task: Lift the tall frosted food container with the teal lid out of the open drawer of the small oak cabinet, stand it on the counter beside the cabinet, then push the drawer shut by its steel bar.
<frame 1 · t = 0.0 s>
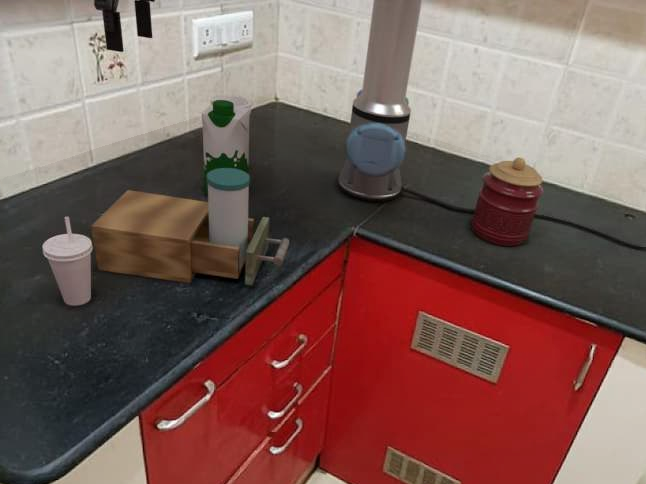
hand: (130, 43, 106), 28 cm above the worktop, tool pointing down, fingers open, 13 cm apart
foam cup: (231, 153, 141), on the worktop
milk carton: (227, 191, 122), on the worktop
smoothie: (77, 299, 85), on the worktop
drawer: (233, 246, 96), point 4 cm above the worktop, slide at 9.0 cm, touching container
kitchen canister: (498, 233, 125), on the worktop
container: (228, 255, 97), point 2 cm above the worktop, touching drawer
cabinet: (159, 255, 98), on the worktop
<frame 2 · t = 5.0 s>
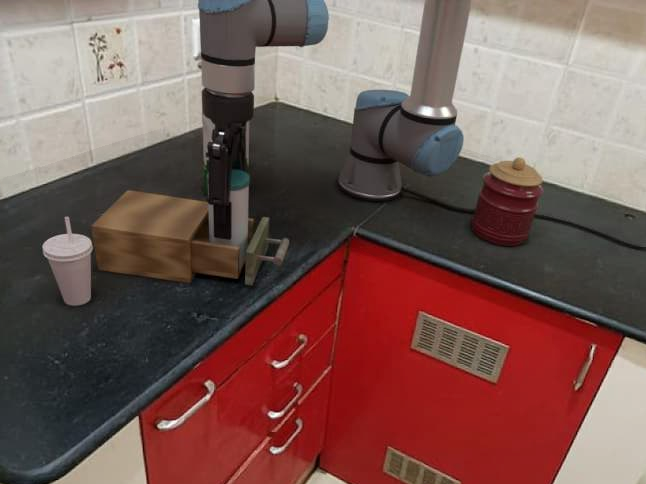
hand: (228, 227, 94), 8 cm above the worktop, tool pointing down, fingers closed on container, 6 cm apart
container: (228, 255, 97), point 2 cm above the worktop, touching drawer, gripper
everything else where it was.
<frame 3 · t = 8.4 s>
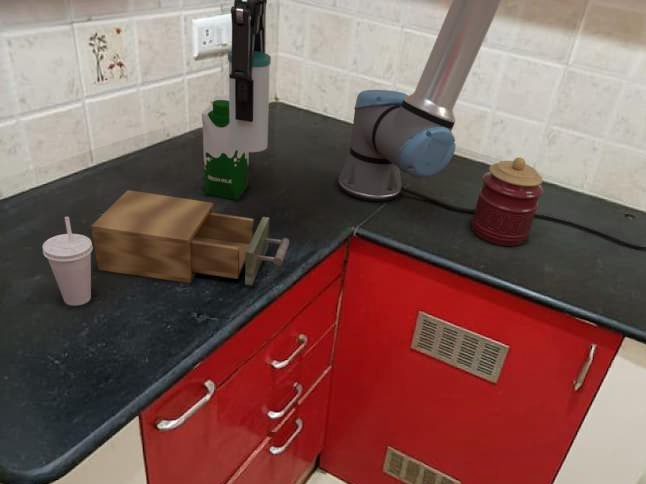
hand: (249, 113, 93), 24 cm above the worktop, tool pointing down, fingers closed on container, 6 cm apart
drawer: (233, 246, 96), point 4 cm above the worktop, slide at 9.0 cm
container: (248, 145, 96), point 19 cm above the worktop, touching gripper
everything else where it was.
when the fingers open (6 cm above the worktop, at t = 11.9 s): container stays where it is, on the worktop.
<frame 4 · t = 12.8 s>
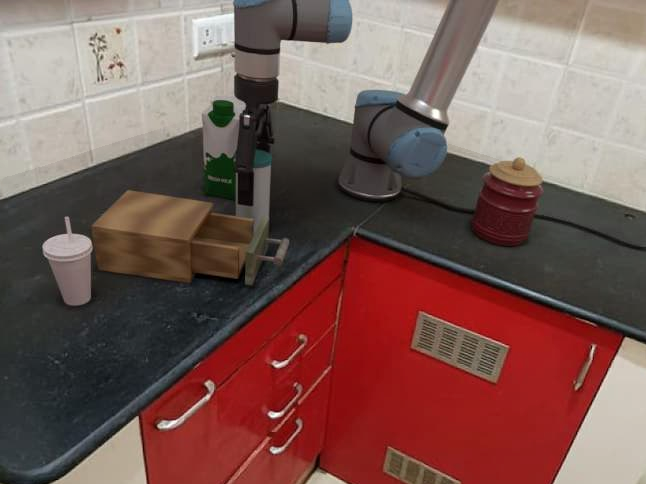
hand: (254, 189, 107), 8 cm above the worktop, tool pointing down, fingers open, 13 cm apart
container: (252, 226, 111), on the worktop
everything else where it was.
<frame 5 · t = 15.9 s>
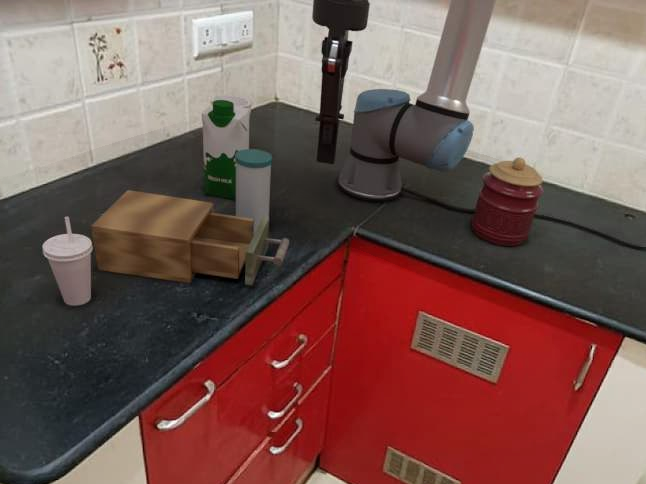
hand: (325, 161, 87), 22 cm above the worktop, tool pointing down, fingers closed
nothing on the worktop moved.
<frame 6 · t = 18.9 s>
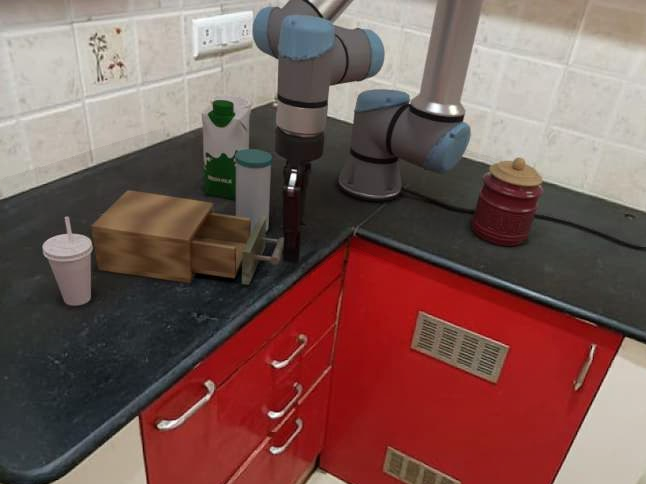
hand: (290, 260, 97), 3 cm above the worktop, tool pointing down, fingers closed
drawer: (229, 245, 96), point 4 cm above the worktop, slide at 8.4 cm
everything else where it was.
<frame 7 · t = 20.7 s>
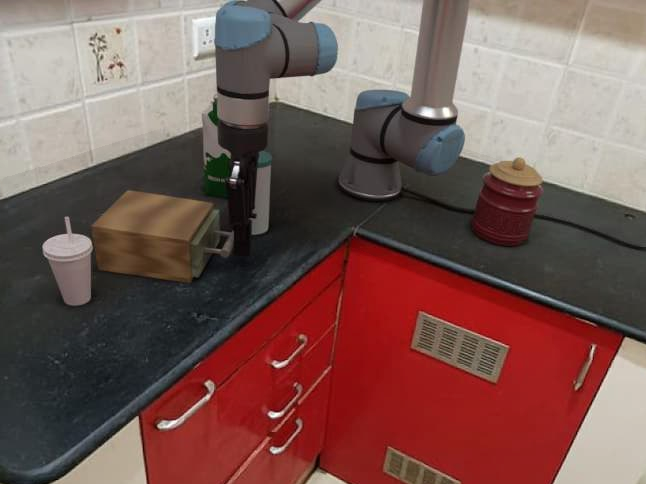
hand: (242, 253, 97), 3 cm above the worktop, tool pointing down, fingers closed
drawer: (181, 238, 96), point 4 cm above the worktop, slide at 0.0 cm, touching cabinet, gripper
everything else where it was.
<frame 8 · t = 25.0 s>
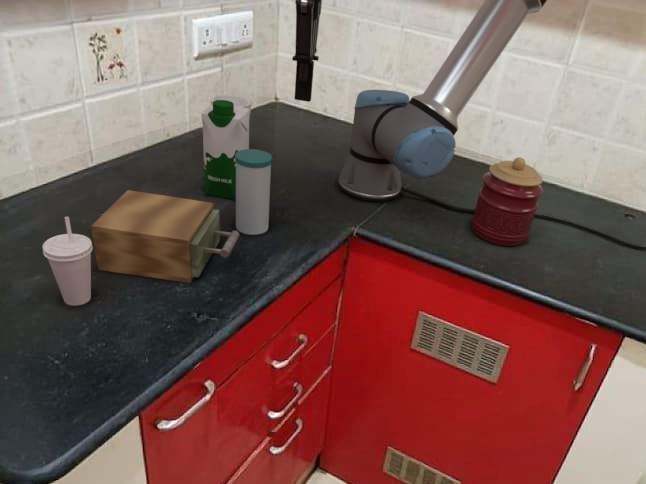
hand: (302, 99, 98), 26 cm above the worktop, tool pointing down, fingers closed
drawer: (181, 238, 96), point 4 cm above the worktop, slide at 0.0 cm, touching cabinet
everything else where it was.
at the end: container inside the target area (0.2 cm from its centre), on the worktop; container tilted 0°; drawer slide at 0.0 cm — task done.
